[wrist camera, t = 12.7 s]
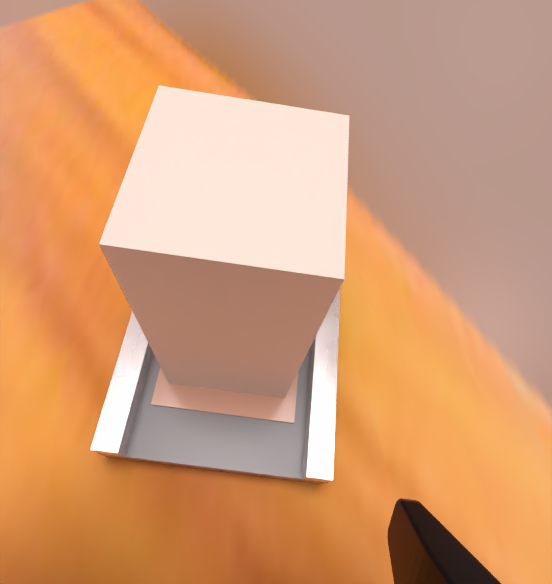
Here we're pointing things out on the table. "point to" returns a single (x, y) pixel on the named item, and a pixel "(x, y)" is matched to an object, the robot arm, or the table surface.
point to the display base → (224, 416)
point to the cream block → (231, 236)
